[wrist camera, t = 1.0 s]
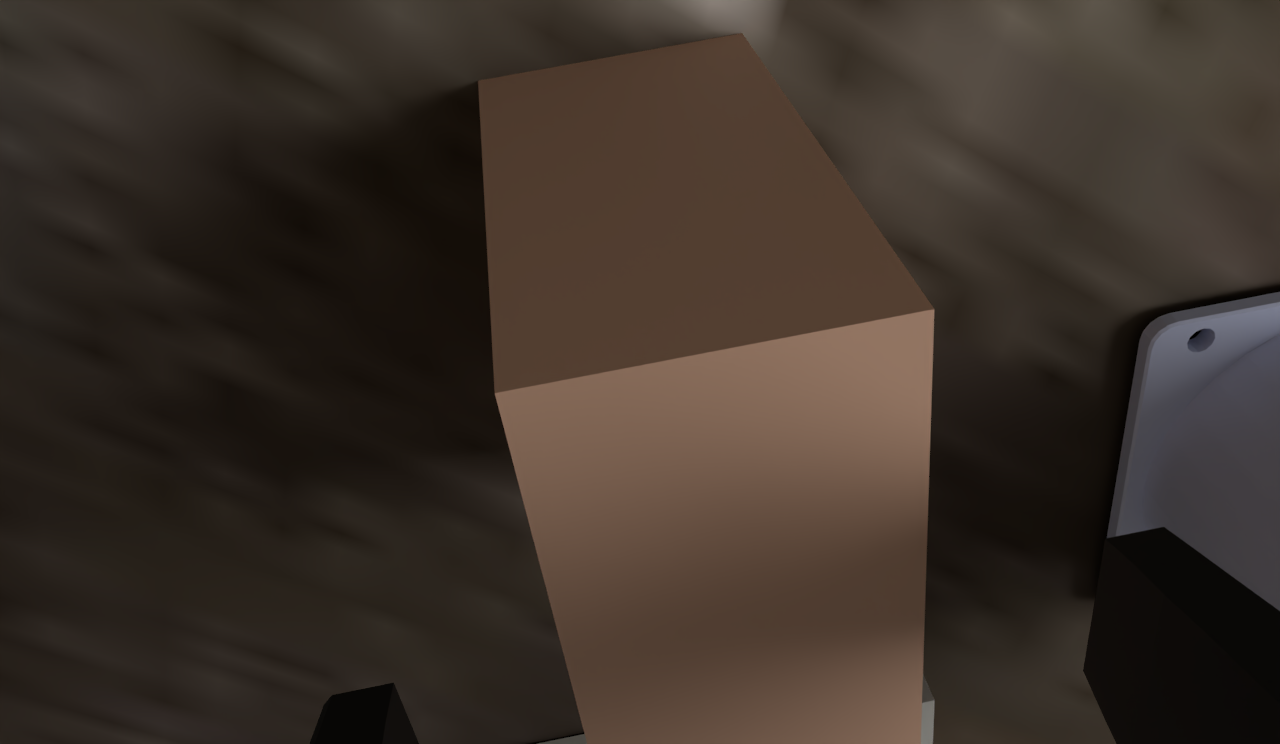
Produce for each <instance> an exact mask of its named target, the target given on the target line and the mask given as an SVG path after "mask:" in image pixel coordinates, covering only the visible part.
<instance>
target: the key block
mask: <svg viewBox="0 0 1280 744" xmlns="http://www.w3.org/2000/svg"><path fill="white" fill-rule="evenodd" d="M478 89H479V108H480V127H481V145H482V164H483V183H484V202H485V221H486V239H487V258H488V277H489V296H490V315H491V333H492V352H493V371H494V390H495V396H496V400H497V404H498V408H499V411H500V415H501V419H502V423H503V427H504V430H505V434H506V438H507V442H508V446H509V449H510V453H511V457H512V461H513V465H514V468H515V472H516V476H517V480H518V483H519V487H520V491H521V495H522V499H523V502H524V506H525V510H526V514H527V518H528V521H529V525H530V529H531V533H532V537H533V540H534V544H535V548H536V552H537V555H538V559H539V563H540V567H541V571H542V574H543V578H544V582H545V586H546V590H547V593H548V597H549V601H550V605H551V609H552V612H553V616H554V620H555V624H556V627H557V631H558V635H559V639H560V643H561V646H562V650H563V654H564V658H565V662H566V665H567V669H568V673H569V677H570V681H571V684H572V688H573V692H574V696H575V699H576V703H577V707H578V711H579V715H580V718H581V722H582V726H583V730H584V734H585V737H586V741H587V744H921V719H922V688H923V656H924V624H925V592H926V560H927V529H928V497H929V465H930V433H931V401H932V370H933V338H934V308H933V306H932V305H931V304H930V302H929V301H928V299H927V298H926V296H925V295H924V293H923V292H922V291H921V289H920V288H919V286H918V285H917V283H916V282H915V281H914V279H913V278H912V276H911V275H910V273H909V272H908V271H907V269H906V268H905V266H904V265H903V263H902V262H901V261H900V259H899V258H898V256H897V255H896V253H895V252H894V250H893V249H892V248H891V246H890V245H889V243H888V242H887V240H886V239H885V238H884V236H883V235H882V233H881V232H880V230H879V229H878V228H877V226H876V225H875V223H874V222H873V220H872V219H871V217H870V216H869V215H868V213H867V212H866V210H865V209H864V207H863V206H862V205H861V203H860V202H859V200H858V199H857V197H856V196H855V195H854V193H853V192H852V190H851V189H850V187H849V186H848V184H847V183H846V182H845V180H844V179H843V177H842V176H841V174H840V173H839V172H838V170H837V169H836V167H835V166H834V164H833V163H832V162H831V160H830V159H829V157H828V156H827V154H826V153H825V152H824V150H823V149H822V147H821V146H820V144H819V143H818V141H817V140H816V139H815V137H814V136H813V134H812V133H811V131H810V130H809V129H808V127H807V126H806V124H805V123H804V121H803V120H802V119H801V117H800V116H799V114H798V113H797V111H796V110H795V108H794V107H793V106H792V104H791V103H790V101H789V100H788V98H787V97H786V96H785V94H784V93H783V91H782V90H781V88H780V87H779V86H778V84H777V83H776V81H775V80H774V78H773V77H772V76H771V74H770V73H769V71H768V70H767V68H766V67H765V65H764V64H763V63H762V61H761V60H760V58H759V57H758V55H757V54H756V53H755V51H754V50H753V48H752V47H751V45H750V44H749V43H748V41H747V40H746V38H745V37H744V35H743V34H742V33H740V34H735V35H729V36H724V37H718V38H713V39H707V40H702V41H696V42H690V43H685V44H679V45H674V46H668V47H663V48H657V49H652V50H646V51H640V52H635V53H629V54H624V55H618V56H613V57H607V58H602V59H596V60H590V61H585V62H579V63H574V64H568V65H563V66H557V67H552V68H546V69H541V70H535V71H529V72H524V73H518V74H513V75H507V76H502V77H496V78H491V79H485V80H479V81H478Z"/></svg>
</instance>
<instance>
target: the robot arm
mask: <svg viewBox="0 0 1280 744" xmlns="http://www.w3.org/2000/svg"><path fill="white" fill-rule="evenodd" d="M1201 329H1202V330H1201ZM1199 330H1201V332H1200V333H1199V334H1198V335H1197V336H1196V337H1195V338H1193V339H1190V337H1191V336H1192V335H1193V334H1194V333H1195V332H1196V331H1199ZM1189 339H1190V340H1189ZM1083 671H1084V673H1085V676H1086V678H1087V680H1088V682H1089V685H1090V687H1091V689H1092V691H1093V693H1094V696H1095V698H1096V700H1097V702H1098V705H1099V707H1100V709H1101V711H1102V714H1103V716H1104V718H1105V720H1106V722H1107V725H1108V727H1109V729H1110V731H1111V733H1112V735H1113V737H1114V739H1115V741H1116V743H1117V744H1280V292H1276V293H1271V294H1266V295H1260V296H1255V297H1250V298H1245V299H1240V300H1235V301H1229V302H1224V303H1219V304H1214V305H1209V306H1204V307H1198V308H1193V309H1188V310H1183V311H1178V312H1173V313H1168V314H1165V315H1163V316H1160V317H1158V318H1156V319H1155V320H1154V321H1152V322H1151V323H1149V325H1148V326H1147V327H1146V328H1145V330H1144V331H1143V333H1142V335H1141V338H1140V340H1139V346H1138V352H1137V358H1136V364H1135V370H1134V376H1133V382H1132V388H1131V394H1130V400H1129V407H1128V413H1127V419H1126V425H1125V431H1124V437H1123V443H1122V449H1121V455H1120V461H1119V467H1118V473H1117V479H1116V485H1115V491H1114V497H1113V503H1112V509H1111V515H1110V521H1109V527H1108V533H1107V538H1106V539H1105V542H1104V549H1103V555H1102V561H1101V567H1100V573H1099V579H1098V585H1097V591H1096V597H1095V603H1094V609H1093V615H1092V621H1091V627H1090V633H1089V639H1088V645H1087V651H1086V657H1085V663H1084V669H1083ZM310 744H419V743H418V740H417V738H416V736H415V733H414V731H413V728H412V726H411V724H410V721H409V719H408V716H407V714H406V711H405V709H404V707H403V704H402V702H401V699H400V697H399V695H398V692H397V690H396V687H395V685H394V683H390V684H385V685H380V686H375V687H370V688H366V689H361V690H356V691H351V692H346V693H341V694H336V695H332V696H331V697H330V698H329V700H328V701H327V702H326V703H325V704H324V706H323V709H322V712H321V714H320V717H319V720H318V723H317V725H316V728H315V731H314V733H313V736H312V739H311V741H310Z"/></svg>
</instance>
